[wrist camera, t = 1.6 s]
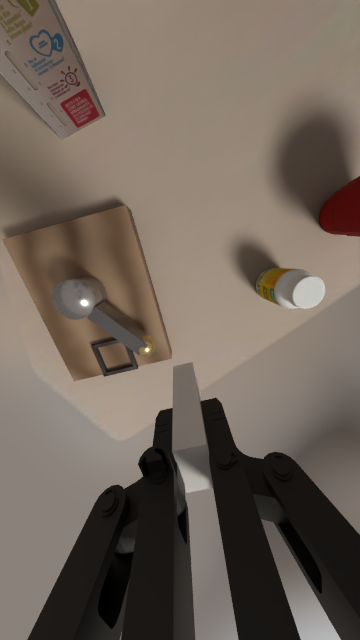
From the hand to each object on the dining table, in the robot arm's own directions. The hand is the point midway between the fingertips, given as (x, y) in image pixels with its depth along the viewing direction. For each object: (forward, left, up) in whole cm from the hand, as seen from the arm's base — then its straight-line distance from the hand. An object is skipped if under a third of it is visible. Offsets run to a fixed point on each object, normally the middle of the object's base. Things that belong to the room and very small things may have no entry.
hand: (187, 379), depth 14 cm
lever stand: (+12, -5, -19) cm, 23 cm away
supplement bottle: (-16, -1, -19) cm, 25 cm away
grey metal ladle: (+9, -3, -16) cm, 19 cm away
